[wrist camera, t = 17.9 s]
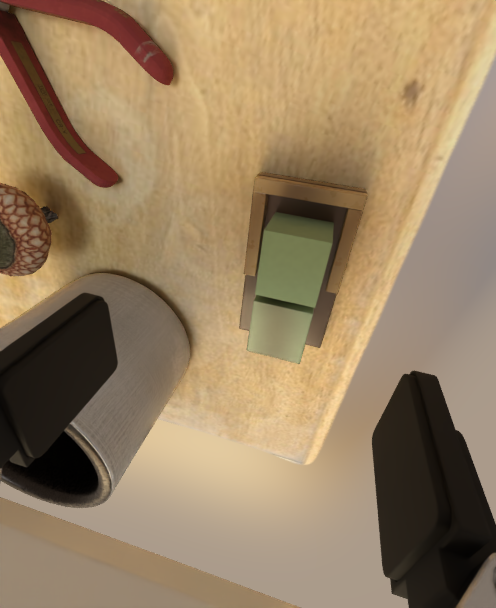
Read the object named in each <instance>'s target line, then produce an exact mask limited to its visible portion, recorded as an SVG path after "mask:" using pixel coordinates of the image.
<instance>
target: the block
mask: <svg viewBox="0 0 496 608" xmlns="http://www.w3.org/2000/svg"><path fill="white" fill-rule="evenodd" d="M333 228H334V223H333V222H328V221H322V220H317V219H311V218H306V217H300V216H295V215H289V214H284V213H278V212H275V214H274V215H273V217H272V219H271V220H270V222H269V223H268V225H267V226H266V228H265V230H264V234H263V241H262V248H261V255H260V262H259V269H258V276H257V283H256V290H255V295H260V296H264V297H269V298H273V299H278V300H282V301H287V302H291V303H296V304H300V305H305V306H309V307H314V308H315V307H316V303H317V300H318V296H319V292H320V289H321V285H322V281H323V277H324V274H325V270H326V266H327V263H328V259H329V255H330V251H331V248H332V244H333Z"/></svg>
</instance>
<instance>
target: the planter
mask: <svg viewBox="0 0 496 608" xmlns="http://www.w3.org/2000/svg"><path fill="white" fill-rule="evenodd" d="M82 293H90V294H94V295H98V296H101V297H103V298H104V300H105V302H107V304H108V307H109V313H110V318H111V324H112V330H113V336H114V342H115V347H116V353H117V359H118V365H117V368H116V370H115V372H114V373H113V374H112V375H111V377H110V378H109V379H108V380H107V381H106V382H105V384H104V385H103V386H102V387H101V388H100V389H99V390H98V392H97V393H96V394H95V395H94V396H93V397H92V399H91V400H90V401H89V402H88V403H87V404H86V406H85V407H84V408H83V409H82V410H81V411H80V413H79V414H78V415H77V416H76V417H75V418H74V420H73V421H72V422H71V423H70V424H69V425H68V427H67V428H66V429H65V430H64V431H63V432H62V433H61V435H60V436H59V437H58V438H57V439H56V440H55V442H54V443H53V444H52V445H51V446H50V447H49V449H48V450H47V451H46V452H45V453H44V454H43V455H42V456H41V457H39V458H35V459H34V460H33V462H32V463H31V464H30V465H29V466H28V467H27V468H26V467H24V466H21V465H18V464H15V463H12V462H11V461H10V459H9V460H8V461H7V462H6V463H5V465H4V466H3V467H2V474H1V481H2V482H4V483H6V484H8V485H9V486H11V487H13V488H15V489H17V490H20V491H21V492H23V493H25V494H28V495H30V496H32V497H35V498H37V499H40V500H43V501H46V502H49V503H53V504H57V505H61V506H66V507H74V508H87V507H94V506H97V505H100V504H102V503H104V502H105V501H106V500H108V498H109V497H110V496H111V494H112V492H113V491H114V489H115V487H116V486H117V484H118V483H119V481H120V479H121V477H122V476H123V474H124V473H125V471H126V469H127V467H128V466H129V464H130V463H131V461H132V459H133V458H134V456H135V454H136V453H137V451H138V449H139V448H140V446H141V444H142V443H143V441H144V440H145V438H146V436H147V435H148V433H149V431H150V430H151V428H152V427H153V425H154V423H155V422H156V420H157V419H158V417H159V415H160V414H161V412H162V411H163V409H164V407H165V406H166V404H167V403H168V401H169V399H170V398H171V396H172V394H173V393H174V391H175V390H176V388H177V386H178V385H179V383H180V381H181V380H182V378H183V376H184V374H185V372H186V370H187V367H188V364H189V360H190V346H189V341H188V337H187V334H186V332H185V329H184V327H183V325H182V323H181V322H180V320H179V318H178V317H177V316H176V314H175V313H174V312H173V310H172V309H171V308H170V307H169V306H168V305H167V304H166V303H165V302H164V301H163V300H162V299H161V298H160V297H159V296H158V295H156V294H155V293H154V292H152V291H151V290H150V289H148V288H146V287H145V286H143V285H141V284H139V283H137V282H135V281H133V280H131V279H128V278H126V277H123V276H119V275H115V274H109V273H94V274H88V275H85V276H82V277H80V278H78V279H75V280H73V281H71V282H70V283H68V284H67V285H65V286H64V287H62V288H60V289H59V290H57V291H56V292H54V293H53V294H51V295H50V296H48V297H47V298H45V299H44V300H42V301H41V302H39V303H38V304H36V305H35V306H33V307H32V308H30V309H29V310H27V311H26V312H24V313H23V314H21V315H20V316H18V317H17V318H15V319H14V320H12V321H11V322H9V323H8V324H6V325H5V326H3V327H1V328H0V351H2V350H3V349H4V348H6V347H7V346H8V345H10V344H11V343H13V342H14V341H15V340H17V339H18V338H20V337H21V336H22V335H24V334H25V333H27V332H28V331H29V330H31V329H32V328H34V327H35V326H36V325H38V324H39V323H41V322H42V321H43V320H45V319H46V318H48V317H49V316H50V315H52V314H53V313H55V312H56V311H57V310H59V309H60V308H62V307H63V306H64V305H66V304H67V303H69V302H70V301H71V300H73V299H74V298H76V297H77V296H78V295H80V294H82Z"/></svg>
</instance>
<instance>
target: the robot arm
mask: <svg viewBox="0 0 496 608" xmlns="http://www.w3.org/2000/svg"><path fill="white" fill-rule="evenodd" d="M117 365H118V359H117V353H116V347H115V342H114V336H113V330H112V324H111V318H110V313H109V307H108V304H107V302H105V300H104V298H103V297H101V296H98V295H94V294H90V293H82V294H80V295H78V296H77V297H76V298H74V299H73V300H71V301H70V302H69V303H67V304H66V305H64V306H63V307H62V308H60V309H59V310H57V311H56V312H55V313H53V314H52V315H50V316H49V317H48V318H46V319H45V320H43V321H42V322H41V323H39V324H38V325H36V326H35V327H34V328H32V329H31V330H29V331H28V332H27V333H25V334H24V335H22V336H21V337H20V338H18V339H17V340H15V341H14V342H13V343H11V344H10V345H8V346H7V347H6V348H4V349H3V350H2V351H0V481H1V474H2V467H3V466H4V465H5V463H6V462H7V461H8V460H9V459H10V461H11V462H12V463H15V464H18V465H21V466H24V467H26V468H27V467H28V466H29V465H30V464H31V463H32V462H33V460H34V459H35V458H39V457H41V456H42V455H43V454H44V453H45V452H46V451H47V450H48V449H49V447H50V446H51V445H52V444H53V443H54V442H55V440H56V439H57V438H58V437H59V436H60V435H61V433H62V432H63V431H64V430H65V429H66V428H67V427H68V425H69V424H70V423H71V422H72V421H73V420H74V418H75V417H76V416H77V415H78V414H79V413H80V411H81V410H82V409H83V408H84V407H85V406H86V404H87V403H88V402H89V401H90V400H91V399H92V397H93V396H94V395H95V394H96V393H97V392H98V390H99V389H100V388H101V387H102V386H103V385H104V384H105V382H106V381H107V380H108V379H109V378H110V377H111V375H112V374H113V373H114V372H115V370H116V368H117ZM372 448H373V461H374V473H375V484H376V496H377V508H378V520H379V532H380V543H381V555H382V566H383V571H384V575H385V576H386V577H388V578H390V580H391V590H392V594H394V595H397V596H400V597H403V598H406V599H408V604H409V608H496V524H495V521H494V519H493V516H492V513H491V510H490V507H489V505H488V502H487V499H486V497H485V494H484V491H483V488H482V486H481V483H480V480H479V477H478V475H477V472H476V469H475V466H474V464H473V461H472V458H471V455H470V453H469V450H468V447H467V444H466V442H465V439H464V437H463V436H462V434H461V433H460V432H459V431H457V430H455V427H454V424H453V422H452V419H451V416H450V413H449V410H448V407H447V404H446V401H445V398H444V396H443V393H442V390H441V387H440V384H439V381H438V379H437V377H436V376H435V375H431V374H426V373H422V372H418V371H412V372H411V373H410V374H409V375H408V374H404V375H403V376H402V378H401V379H400V381H399V383H398V385H397V387H396V389H395V391H394V393H393V395H392V397H391V399H390V401H389V403H388V405H387V407H386V409H385V411H384V413H383V414H382V416H381V419H380V420H379V422H378V424H377V426H376V428H375V430H374V433H373V437H372ZM0 608H300V607H297V606H294V605H292V604H289V603H286V602H284V601H281V600H279V599H276V598H273V597H271V596H268V595H265V594H263V593H260V592H257V591H254V590H252V589H249V588H246V587H243V586H241V585H238V584H236V583H233V582H230V581H228V580H225V579H222V578H219V577H217V576H214V575H212V574H209V573H206V572H203V571H201V570H198V569H196V568H193V567H190V566H187V565H185V564H182V563H179V562H177V561H174V560H171V559H168V558H166V557H163V556H160V555H158V554H155V553H152V552H149V551H147V550H144V549H141V548H139V547H136V546H133V545H130V544H128V543H125V542H122V541H119V540H117V539H114V538H111V537H109V536H106V535H103V534H100V533H98V532H95V531H92V530H89V529H87V528H84V527H81V526H78V525H76V524H73V523H70V522H67V521H65V520H62V519H59V518H56V517H53V516H51V515H48V514H45V513H43V512H40V511H37V510H34V509H31V508H29V507H26V506H23V505H20V504H18V503H15V502H12V501H9V500H7V499H4V498H1V497H0Z"/></svg>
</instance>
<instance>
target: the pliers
mask: <svg viewBox="0 0 496 608" xmlns="http://www.w3.org/2000/svg"><path fill="white" fill-rule="evenodd" d="M10 5H12V6H15V7H19V8H23V9H27V10H31V11H35V12H39V13H43V14H47V15H52V16H56V17H60V18H64V19H68V20H72V21H76V22H80V23H85V24H89V25H93V26H97V27H99V28H101V29H102V30H104V31H106V32H107V33H108V34H110V35H111V36H113V37H114V38H115V39H116V40H117V41H118V42H120V44H121V45H122V46H123V47H124V48H125V49H126V50H127V51H128V52H129V53H130V55H131V56H132V57H133V58H134V59H135V60H136V61H137V62H138V63H139V64H140V65H141V66H142V67H143V68H144V69H145V71H146V72H148V73H149V74H150V75H151V76H152V77H153V78H154V79H156V80H157V81H158V82H160V83H162V84H164V85H170V83H171V81H172V79H173V68H172V65H171V63H170V61H169V59H168V58H167V56H166V55H165V54H164V53H163V52H162V51H161V50H160V49H159V48H158V46H157V45H156V44H155V43H154V42H153V41H152V40H151V39H150V37H149V36H148V35H147V34H146V33H145V32H144V31H143V29H142V28H141V27H140V26H139V25H138V24H137V23H136V22H135V20H134V19H133V18H131V17H130V16H129V15H127V14H126V13H125V12H123V11H122V10H120V9H118V8H116V7H115V6H113V5H110V4H108V3H106V2H104V1H101V0H0V55H1V57H2V59H3V60H4V62H5V64H6V66H7V68H8V69H9V71H10V73H11V75H12V77H13V78H14V80H15V82H16V84H17V86H18V87H19V89H20V91H21V93H22V95H23V96H24V98H25V100H26V102H27V104H28V105H29V107H30V109H31V111H32V113H33V114H34V116H35V118H36V120H37V122H38V123H39V125H40V127H41V129H42V130H43V132H44V133H45V135H46V137H47V138H48V140H49V141H50V142H51V144H52V145H53V147H54V148H55V149H56V151H57V152H58V153H59V154H60V155H61V156H62V158H63V159H64V160H65V161H67V162H68V163H69V164H70V165H72V166H73V167H74V168H75V169H76V170H78V171H79V172H80V173H81V174H83V175H84V176H85V177H86V178H87V179H89V180H90V181H91V182H92V183H93V184H95V185H97V186H99V187H103V188H107V187H111V186H113V185H114V184H115V183H116V182H117V180H118V175H117V174H116V172H115V171H114V170H113V169H112V168H111V167H109V166H108V165H107V164H106V163H105V162H104V161H102V160H101V159H100V158H99V157H98V156H97V155H95V154H94V153H93V152H92V151H91V150H90V149H89V148H88V147H87V146H86V145H85V144H84V143H83V142H82V140H81V139H80V138H79V136H78V135H77V133H76V132H75V130H74V129H73V127H72V125H71V124H70V122H69V120H68V118H67V116H66V114H65V112H64V110H63V109H62V107H61V105H60V103H59V101H58V99H57V97H56V95H55V93H54V91H53V89H52V87H51V85H50V83H49V81H48V79H47V78H46V76H45V74H44V72H43V70H42V68H41V66H40V64H39V62H38V60H37V58H36V56H35V54H34V52H33V50H32V49H31V47H30V45H29V43H28V41H27V39H26V37H25V35H24V34H25V33H24V31H23V29H22V27H21V25H20V23H18V21H17V19H16V17H15V15H14V14H12V13H9V12H8V10H9V6H10Z"/></svg>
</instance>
